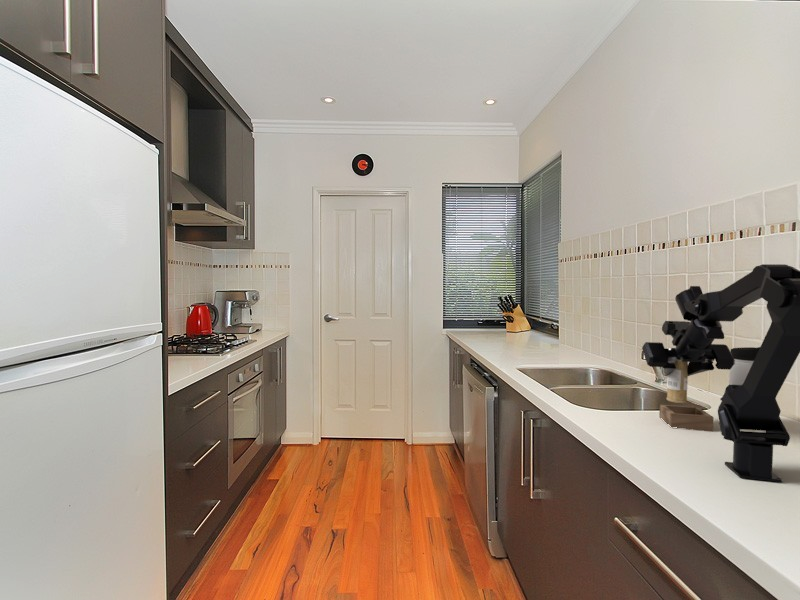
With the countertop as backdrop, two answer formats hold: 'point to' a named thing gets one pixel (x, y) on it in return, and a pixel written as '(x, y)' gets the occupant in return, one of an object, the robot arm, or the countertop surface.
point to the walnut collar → (686, 417)
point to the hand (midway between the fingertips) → (674, 374)
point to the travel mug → (741, 364)
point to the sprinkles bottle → (677, 383)
